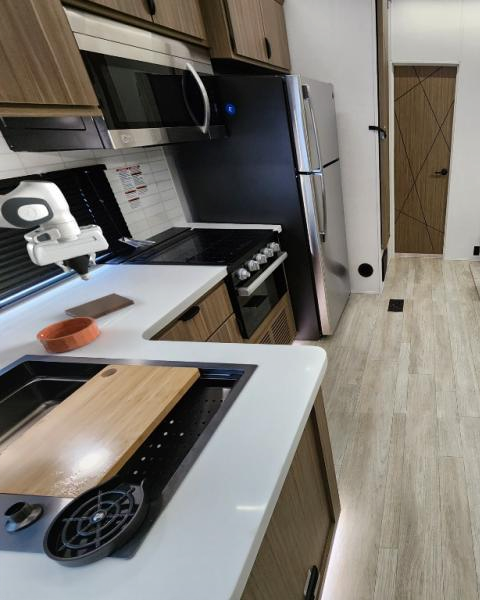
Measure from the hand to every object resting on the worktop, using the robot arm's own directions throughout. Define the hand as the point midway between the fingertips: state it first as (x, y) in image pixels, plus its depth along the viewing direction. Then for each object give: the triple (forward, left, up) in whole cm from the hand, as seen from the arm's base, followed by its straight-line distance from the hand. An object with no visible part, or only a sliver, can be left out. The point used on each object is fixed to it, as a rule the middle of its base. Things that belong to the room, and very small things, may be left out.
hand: (80, 268), depth 117 cm
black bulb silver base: (0, 0, -5) cm, 5 cm away
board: (0, 0, -16) cm, 17 cm away
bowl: (-15, -17, -16) cm, 28 cm away
